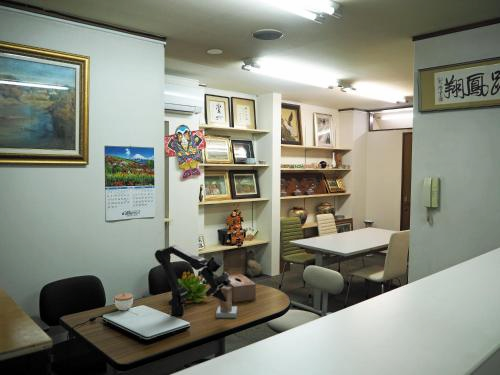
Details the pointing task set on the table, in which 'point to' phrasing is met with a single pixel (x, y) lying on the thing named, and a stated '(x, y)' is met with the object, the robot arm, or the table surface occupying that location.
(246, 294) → the tissue box cover
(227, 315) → the slate base
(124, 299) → the lidded jar
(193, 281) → the potted flower
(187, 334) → the table surface
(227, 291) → the walnut block
